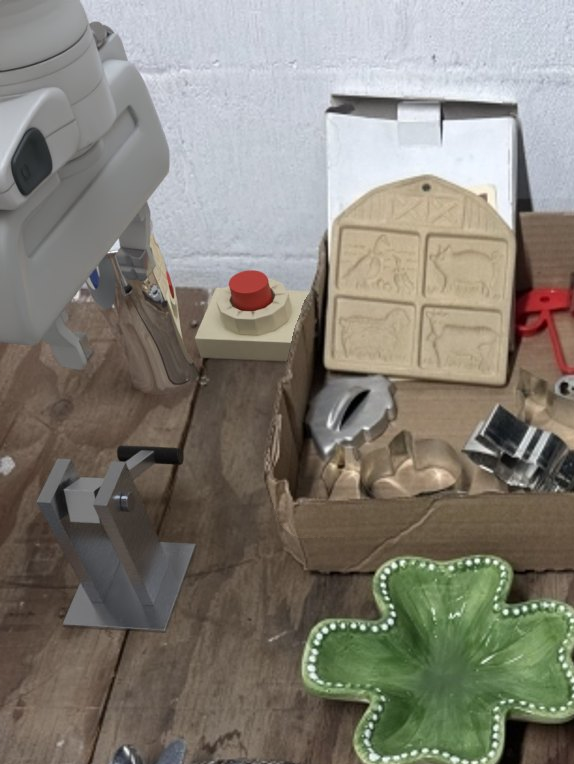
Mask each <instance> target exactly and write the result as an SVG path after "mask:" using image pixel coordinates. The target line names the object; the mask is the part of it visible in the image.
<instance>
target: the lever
mask: <svg viewBox="0 0 574 764" xmlns="http://www.w3.org/2000/svg"><path fill="white" fill-rule="evenodd" d="M116 457H117V459H118V461H119V462H126V464H127V467H128V469H129V471H130V474H131V476H132V478H133V481H134V480H136V479H137V478H138V477H140V476H141V475H142V474H144V473H145V472H146V471H147V470H149V469H150V468H151V467H152V466H154V465H171V466H172V465H173V466H181V465H183V464H184V459H185V455H184V451H183V449H182V448H181V447H168V446H167V447H166V446H165V447H164V446H148V445H147V446H146V445H145V446H144V445H124V444H120V445H118V446H117V450H116ZM104 478H105V476H104V477H85V476H84V477H83V476H82V477H81V476H80V479H78V480H77V481H75V482H74V483H72V484H71V485H69V486H68V487H67V488H65V489H64V494H65V499H66V503H67V508H68V513H69V518H70V522H82V523H101V521H100V518H99V516H98V514H97V512H96V510H95V508H94V506H93V503H94V501H95V498H96V496H97V494H98V492H99V489H100V487H101V485H102V483H103V481H104Z"/></svg>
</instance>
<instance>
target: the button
mask: <svg viewBox="0 0 574 764" xmlns="http://www.w3.org/2000/svg"><path fill="white" fill-rule="evenodd" d="M268 278H269V277H268V276H267V275H266V274H265V273H264V272H262V271H259V270H252V269H250V270H249V269H248V270H243V271H239V272H238V273H236V274H234V275H233V276H231V277H230V278H229V281H228V285H229V288H230V292H231V295H232V299H233V302H234V306H235V307H236V308H237V309H239V310H241V311H256V310H260V309H263V308H266V307H267V306H268V305H270V304H271V303H272V294H271V290H270V286H269V282H268Z"/></svg>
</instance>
